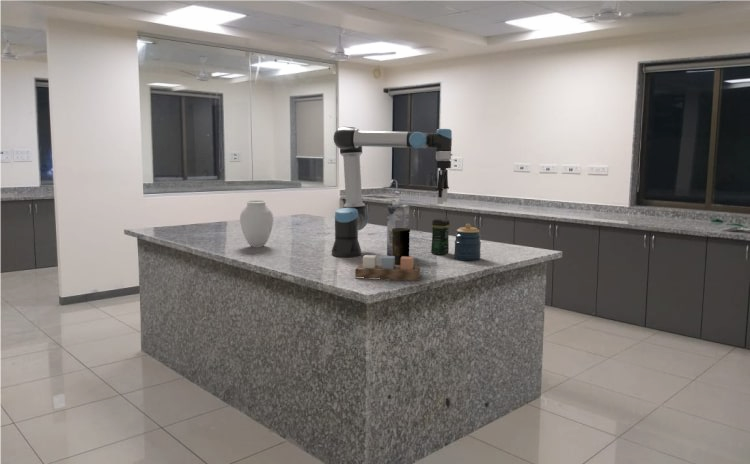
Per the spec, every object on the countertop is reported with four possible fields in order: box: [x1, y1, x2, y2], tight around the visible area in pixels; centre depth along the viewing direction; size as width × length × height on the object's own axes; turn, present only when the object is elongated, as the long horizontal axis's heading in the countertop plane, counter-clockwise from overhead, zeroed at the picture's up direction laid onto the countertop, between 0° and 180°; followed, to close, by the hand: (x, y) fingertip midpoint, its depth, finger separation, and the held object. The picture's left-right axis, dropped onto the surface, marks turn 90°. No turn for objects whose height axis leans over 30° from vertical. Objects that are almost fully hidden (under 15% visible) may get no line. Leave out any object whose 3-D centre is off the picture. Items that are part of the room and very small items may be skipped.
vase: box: [239, 200, 274, 248], centre depth 314 cm, size 18×18×25 cm
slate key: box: [381, 255, 395, 269], centre depth 242 cm, size 5×5×6 cm
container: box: [392, 228, 411, 265], centre depth 260 cm, size 9×9×18 cm
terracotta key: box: [400, 256, 415, 270], centre depth 241 cm, size 5×5×6 cm
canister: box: [453, 223, 482, 262], centre depth 284 cm, size 13×13×18 cm
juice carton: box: [386, 202, 410, 256], centre depth 290 cm, size 9×10×27 cm
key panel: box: [355, 263, 421, 282], centre depth 243 cm, size 26×11×4 cm, turn 81°
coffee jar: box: [430, 217, 450, 255], centre depth 298 cm, size 10×8×19 cm
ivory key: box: [362, 254, 377, 268], centre depth 244 cm, size 5×5×6 cm
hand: (442, 202), depth 289 cm, fingers open, 13 cm apart
